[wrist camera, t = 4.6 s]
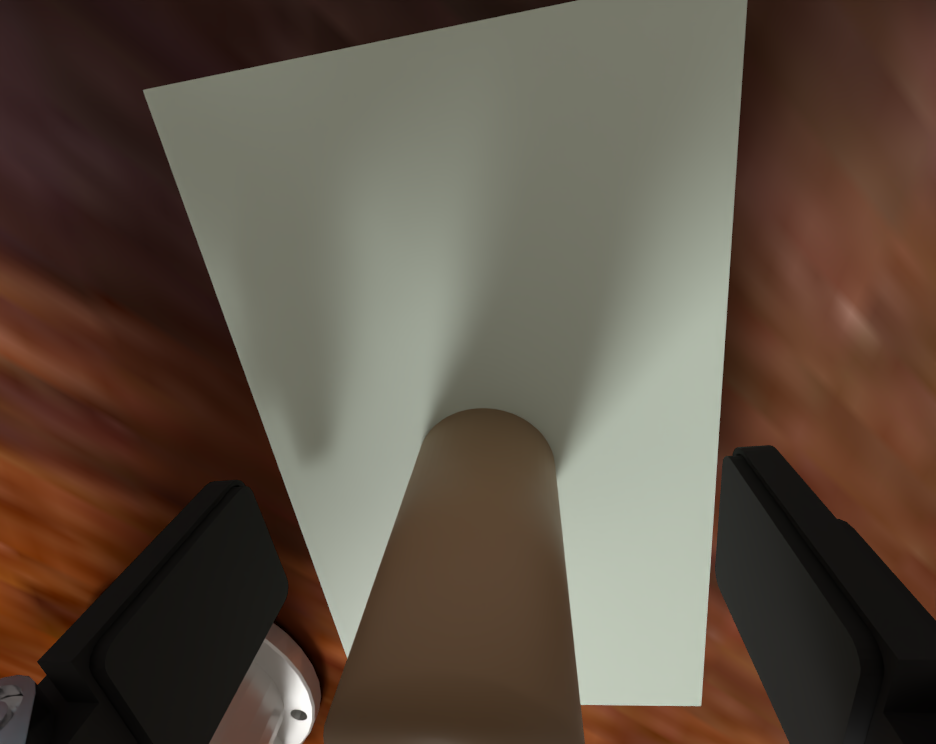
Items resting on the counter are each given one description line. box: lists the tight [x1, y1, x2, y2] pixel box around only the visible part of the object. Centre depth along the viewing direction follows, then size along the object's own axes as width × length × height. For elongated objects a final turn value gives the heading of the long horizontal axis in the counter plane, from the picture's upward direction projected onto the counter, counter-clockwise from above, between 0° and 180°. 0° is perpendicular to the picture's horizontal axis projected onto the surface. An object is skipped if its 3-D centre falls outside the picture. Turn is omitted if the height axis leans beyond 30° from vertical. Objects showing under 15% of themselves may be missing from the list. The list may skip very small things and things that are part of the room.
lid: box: [143, 0, 747, 744], centre depth 9 cm, size 17×10×7 cm, turn 8°
